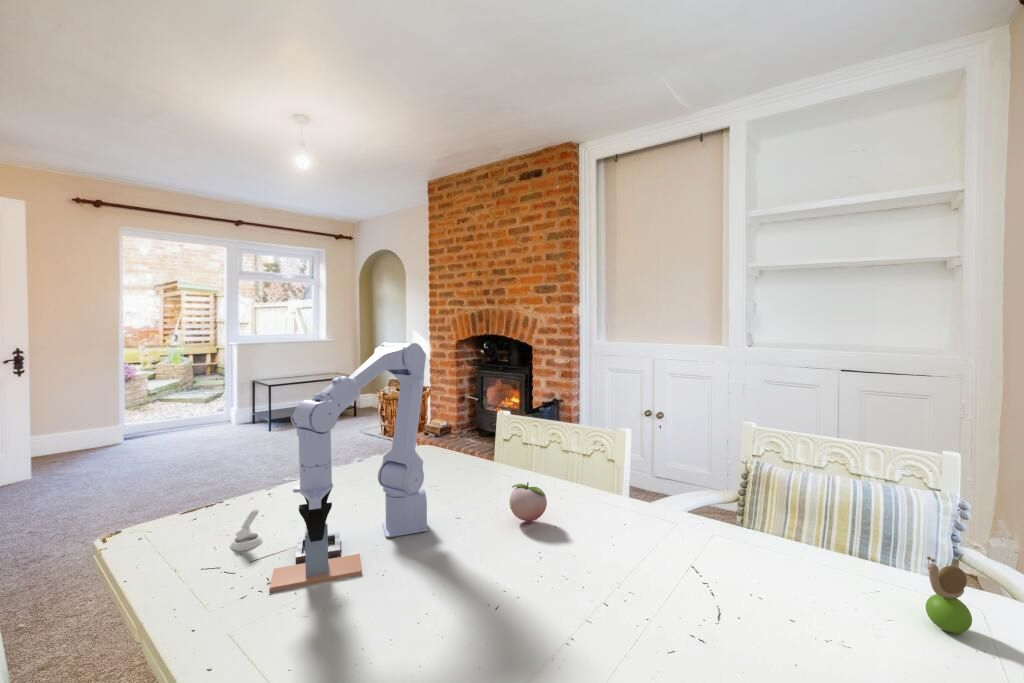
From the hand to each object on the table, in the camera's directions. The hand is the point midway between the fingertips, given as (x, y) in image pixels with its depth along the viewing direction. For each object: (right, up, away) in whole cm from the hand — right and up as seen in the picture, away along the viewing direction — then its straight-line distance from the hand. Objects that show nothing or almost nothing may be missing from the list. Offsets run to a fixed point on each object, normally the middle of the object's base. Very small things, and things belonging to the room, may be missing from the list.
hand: (317, 531), depth 90 cm
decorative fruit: (+42, -8, +23) cm, 48 cm away
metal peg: (0, -8, 0) cm, 8 cm away
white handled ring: (-21, -8, +13) cm, 26 cm away
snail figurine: (+107, -9, -16) cm, 109 cm away
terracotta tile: (0, -8, 0) cm, 8 cm away
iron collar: (-4, -8, +9) cm, 13 cm away
